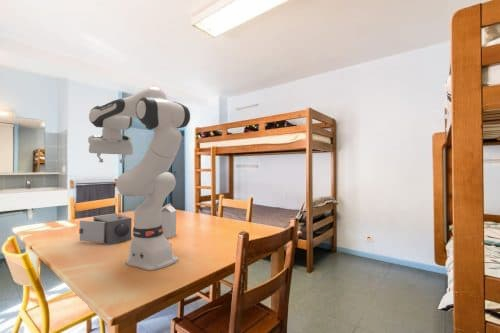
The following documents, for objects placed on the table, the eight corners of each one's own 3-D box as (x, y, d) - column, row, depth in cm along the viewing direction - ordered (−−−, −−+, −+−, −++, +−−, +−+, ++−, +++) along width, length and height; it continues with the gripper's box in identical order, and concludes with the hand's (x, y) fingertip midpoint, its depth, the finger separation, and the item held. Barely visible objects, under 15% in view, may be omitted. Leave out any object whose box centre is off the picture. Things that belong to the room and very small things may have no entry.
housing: (133, 240, 129) (133, 217, 130) (109, 245, 120) (110, 221, 120) (115, 233, 143) (115, 212, 143) (93, 237, 134) (93, 215, 134)
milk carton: (176, 235, 140) (176, 203, 140) (171, 238, 133) (171, 205, 133) (164, 234, 141) (165, 203, 141) (159, 238, 134) (159, 205, 134)
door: (106, 242, 122) (106, 222, 122) (103, 243, 120) (103, 223, 120) (81, 240, 126) (81, 220, 126) (77, 241, 124) (78, 221, 124)
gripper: (88, 134, 116) (88, 162, 116) (133, 138, 128) (133, 163, 128) (87, 135, 120) (87, 162, 120) (131, 138, 133) (130, 162, 133)
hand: (111, 162), depth 125 cm, fingers open, 8 cm apart
